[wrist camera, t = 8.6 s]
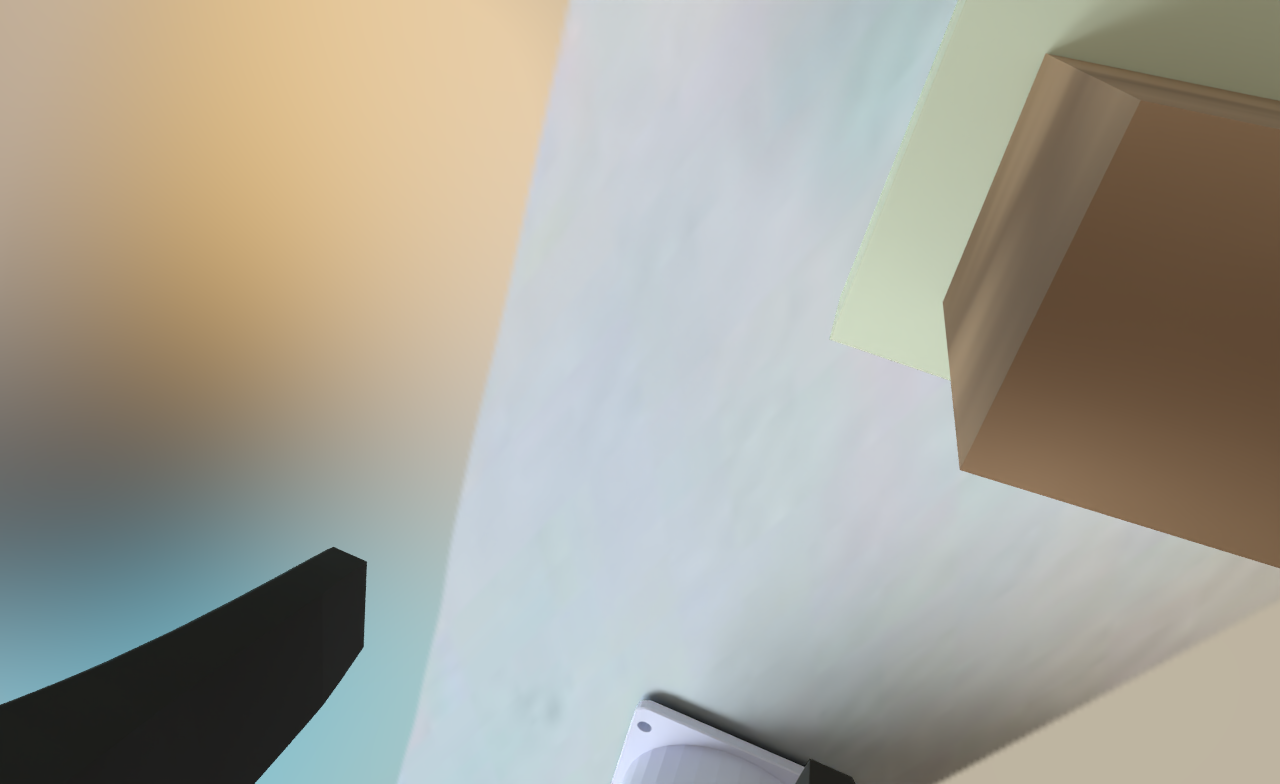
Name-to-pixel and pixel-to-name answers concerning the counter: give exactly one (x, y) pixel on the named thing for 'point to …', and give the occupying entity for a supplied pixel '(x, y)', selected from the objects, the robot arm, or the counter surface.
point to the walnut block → (1129, 307)
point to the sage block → (984, 122)
